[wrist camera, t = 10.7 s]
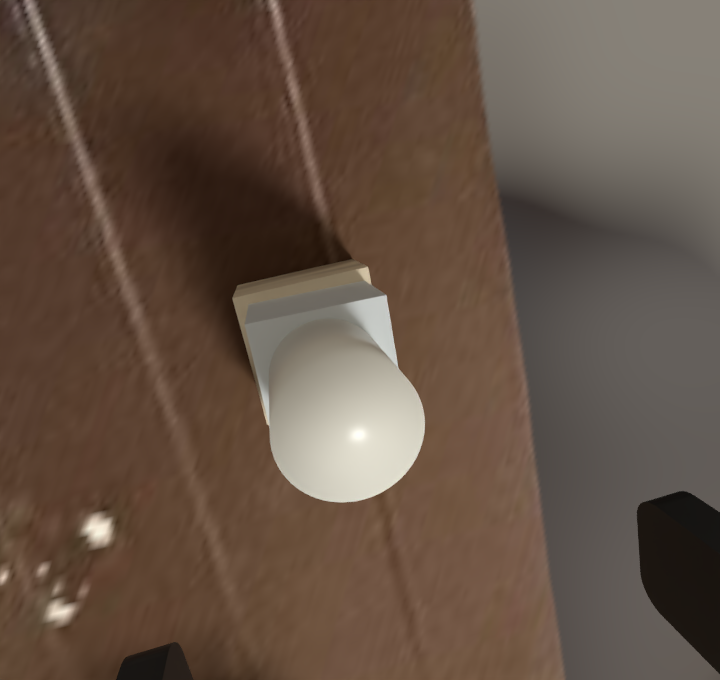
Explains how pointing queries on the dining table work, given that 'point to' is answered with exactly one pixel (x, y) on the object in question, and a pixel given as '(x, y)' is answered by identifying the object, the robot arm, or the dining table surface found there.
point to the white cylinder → (341, 413)
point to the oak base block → (293, 292)
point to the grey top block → (287, 313)
